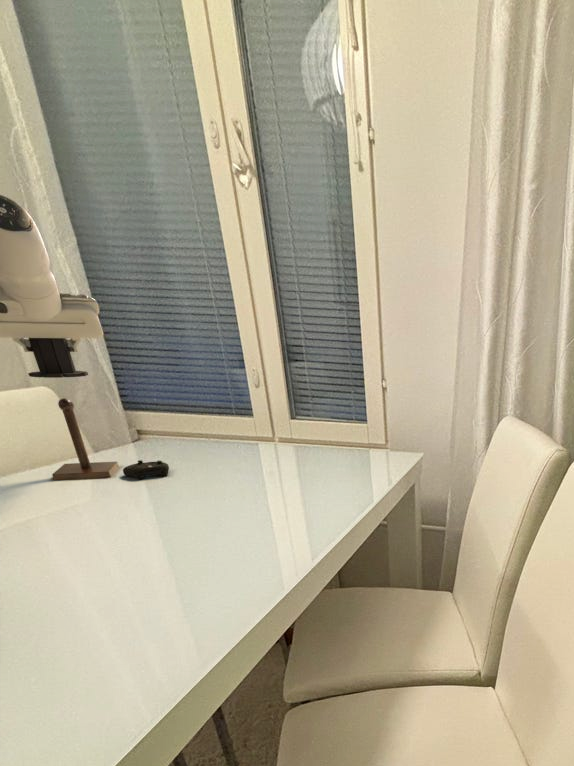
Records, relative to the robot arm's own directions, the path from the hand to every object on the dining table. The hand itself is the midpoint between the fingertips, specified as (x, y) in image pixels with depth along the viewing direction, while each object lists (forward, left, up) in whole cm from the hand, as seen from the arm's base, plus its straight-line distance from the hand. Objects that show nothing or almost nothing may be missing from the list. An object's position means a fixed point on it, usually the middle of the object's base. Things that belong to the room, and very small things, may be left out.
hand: (50, 349), depth 114 cm
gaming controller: (+13, -3, -26) cm, 29 cm away
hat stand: (-1, +2, -26) cm, 26 cm away
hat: (0, -1, -5) cm, 5 cm away
